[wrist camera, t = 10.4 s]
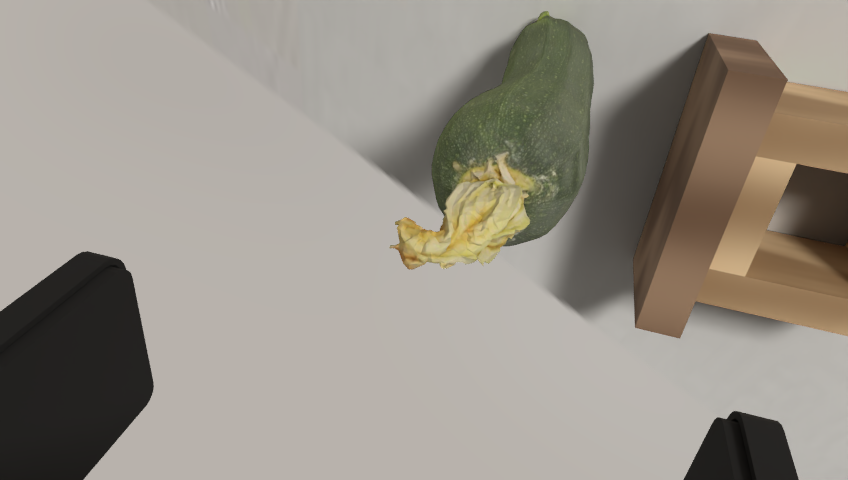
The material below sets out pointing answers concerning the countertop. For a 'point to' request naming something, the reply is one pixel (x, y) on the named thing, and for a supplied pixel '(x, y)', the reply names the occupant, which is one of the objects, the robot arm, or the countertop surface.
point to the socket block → (775, 252)
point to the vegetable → (511, 153)
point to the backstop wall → (703, 178)
